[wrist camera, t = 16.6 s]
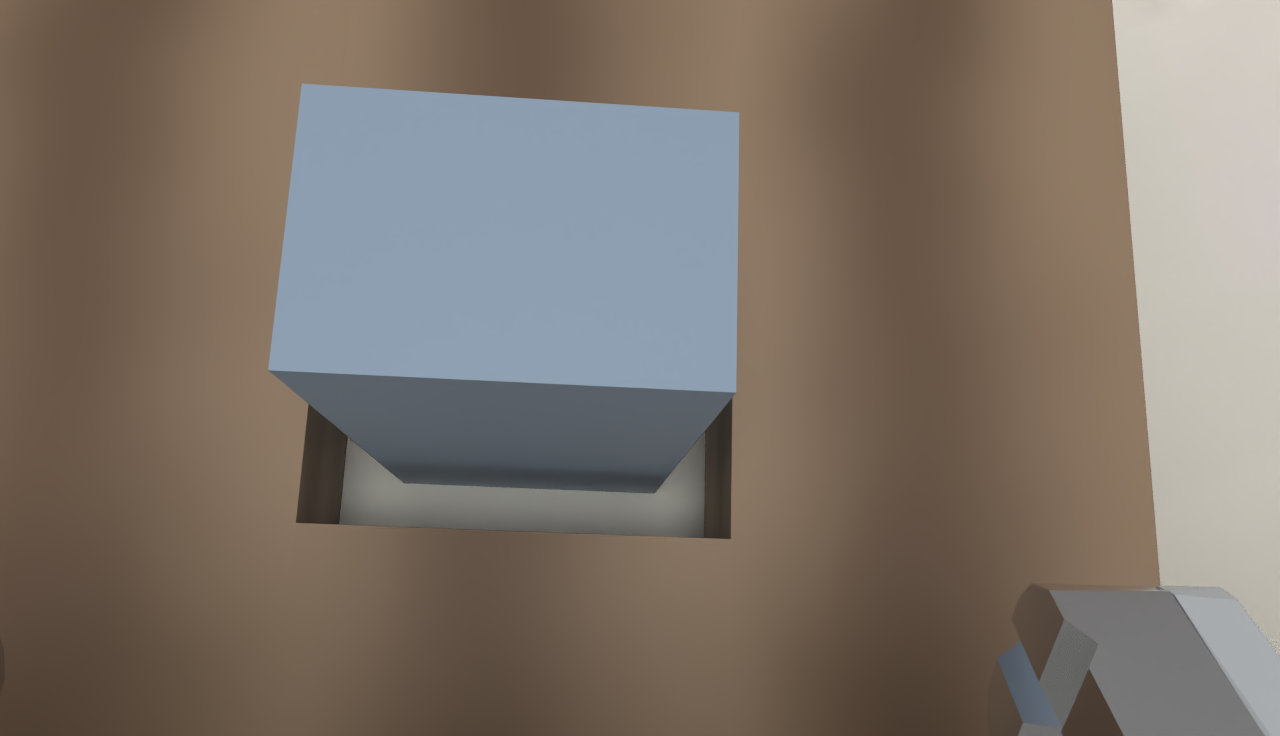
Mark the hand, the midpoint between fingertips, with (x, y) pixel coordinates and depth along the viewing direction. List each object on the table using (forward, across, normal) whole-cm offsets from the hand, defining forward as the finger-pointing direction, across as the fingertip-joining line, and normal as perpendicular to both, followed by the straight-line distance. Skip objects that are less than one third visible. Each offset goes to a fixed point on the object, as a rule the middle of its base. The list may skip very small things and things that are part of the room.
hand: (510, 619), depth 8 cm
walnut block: (+10, 0, +5) cm, 11 cm away
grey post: (+10, 0, +5) cm, 11 cm away
